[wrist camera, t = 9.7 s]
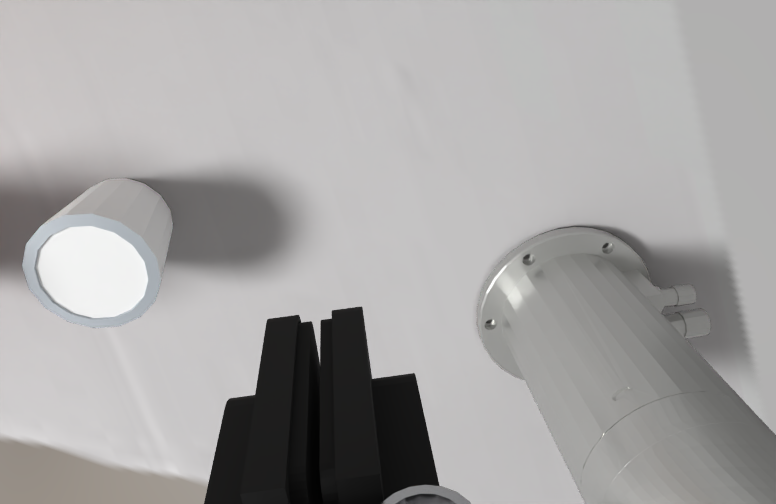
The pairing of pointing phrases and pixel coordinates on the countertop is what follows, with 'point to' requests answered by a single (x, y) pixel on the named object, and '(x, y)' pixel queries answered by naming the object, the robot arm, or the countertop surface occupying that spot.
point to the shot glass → (101, 254)
